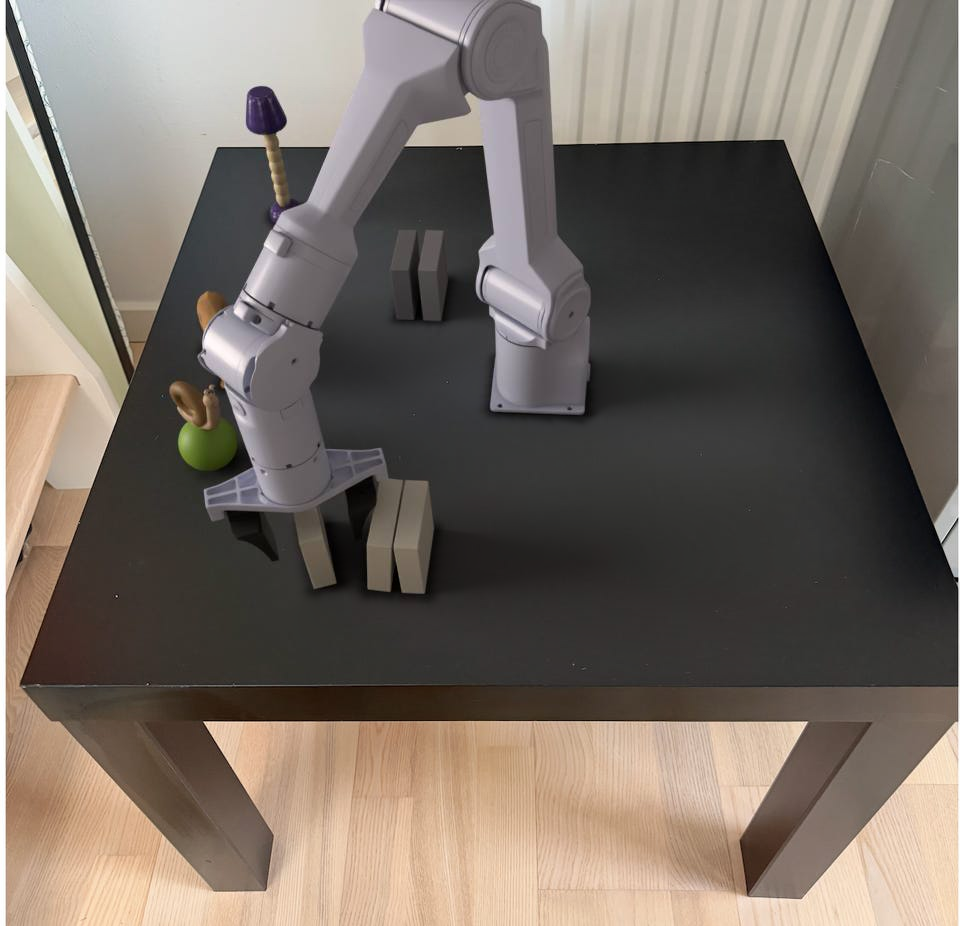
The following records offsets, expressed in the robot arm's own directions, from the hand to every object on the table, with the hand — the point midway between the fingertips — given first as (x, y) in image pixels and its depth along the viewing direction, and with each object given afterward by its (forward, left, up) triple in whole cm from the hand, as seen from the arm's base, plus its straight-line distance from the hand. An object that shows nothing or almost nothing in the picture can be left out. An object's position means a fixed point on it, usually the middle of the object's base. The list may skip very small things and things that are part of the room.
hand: (315, 541), depth 80 cm
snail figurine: (+12, -10, -2) cm, 16 cm away
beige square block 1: (-6, 0, -2) cm, 6 cm away
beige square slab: (0, 0, -2) cm, 2 cm away
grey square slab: (-3, -35, -2) cm, 35 cm away
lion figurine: (+14, -24, -2) cm, 28 cm away
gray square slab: (-6, -35, -2) cm, 36 cm away
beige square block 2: (-9, 0, -2) cm, 9 cm away
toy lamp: (+14, -50, -2) cm, 52 cm away
